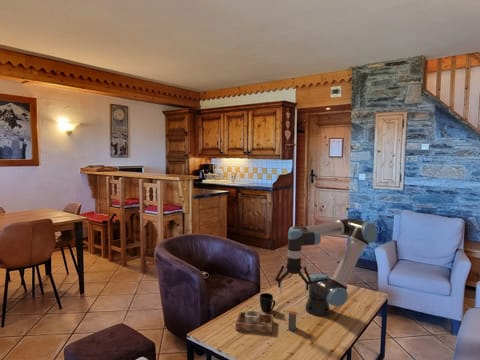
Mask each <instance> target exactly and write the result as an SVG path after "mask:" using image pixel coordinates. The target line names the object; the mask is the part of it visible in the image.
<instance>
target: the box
mask: <svg viewBox="0 0 480 360" xmlns="http://www.w3.org/2000/svg"><path fill="white" fill-rule="evenodd" d="M273 323H274V314H267V313H261V310H254V309H253V310H252V309H246V310H245V311H239V313H238V316H237V318H236V322H235V331H240V332H241V331H242V332H249V333H260V334H268V335H272V333H273V327H274V326H273Z"/></svg>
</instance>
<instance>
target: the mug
mask: <svg viewBox="0 0 480 360" xmlns="http://www.w3.org/2000/svg"><path fill="white" fill-rule="evenodd" d="M259 304H260V309H261V312H263V313H271V312H272V311H273V309H274V308H275V306H276V300H274V296H273V294H271V293H270V292H264V293H263V292H262V293H261V294H259Z"/></svg>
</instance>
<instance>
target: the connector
mask: <svg viewBox="0 0 480 360" xmlns="http://www.w3.org/2000/svg"><path fill="white" fill-rule="evenodd" d="M296 324H297V308H294V307H293V308H292V307H288V327H287V328H288V329H287V331H293V332H296V328H297V327H296V326H297V325H296Z"/></svg>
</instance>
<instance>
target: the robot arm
mask: <svg viewBox="0 0 480 360" xmlns="http://www.w3.org/2000/svg"><path fill="white" fill-rule="evenodd" d="M287 234H288V235H287V259H286V260H287V261H286V263H287V264H284V263H282V264H281V267H280V270H279V271H278V273H277V274H276V276H275V279H274V280H275V282H277V283H278V284H277V286H278V287H277V288H279V294H280V295H282V288H283V286H282V284H283V280H284V279H285V278H286V276H288V275H289V274H291V275H293V274H294V275H297V274H298V275H299V277H300V278H301V279H302V280H303V281H304V297H307V291H308V298H307V301H306V303H305V307H304V308H305V311H306V312H307V313H308V314H310V315H314V316H318V317H322V316H323V317H324V316H328V315H330V313H331V308H330V307H331V306H333V307H339V306H343V305H344V304H345V303H346V302H347V300H348V296H349V293H348V291H347V289H348V288H349V287H348V284H347V283H348V281H349V279H350V277H351V274H352V272H353V271H354V269H355V266H356V265H357V263H358V261H359V258H360V256H361V254H362V252H363V250H364V248H367V247H368V246H369V244H371V243H374V242H375V241H376V240H377V237H378V229H377V226H376V225H375V224H374V223H372V222H370V221H367V220H362V219H358V218H343V219H337V220H335V221H334V222H333V221H332V222H328V223H327V222H326V223H321V224H311V225H306V226H295V225H293V226H291V227H289V229H288V232H287ZM331 235H332V236H333V235H338V236H349V237H348V238H349V240H350V241H349V243H348V245H347V247H346V249H345V251H344V253H343V255H342V257H341V258H340V261H339V263H338V265H337V267H336V269H335V271H334V272H333V275H332V276H329V275H327V274H325V273H312V274H309V272H308V270H307V266H306V265H304V266H303V265H302V247H305V246H306V247H308V246H316V245H319V244H320V243H321V238H322V237H325V236H326V237H327V236H328V237H329V236H331ZM285 269H287V270H286V271H285V272H284V273H283V274H282V272H283V271H284V270H285ZM301 270H302V271H304V273H305V275H306V276H305V275H304V274H303V273H302V272H301ZM281 274H282V275H281ZM330 305H331V306H330Z"/></svg>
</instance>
